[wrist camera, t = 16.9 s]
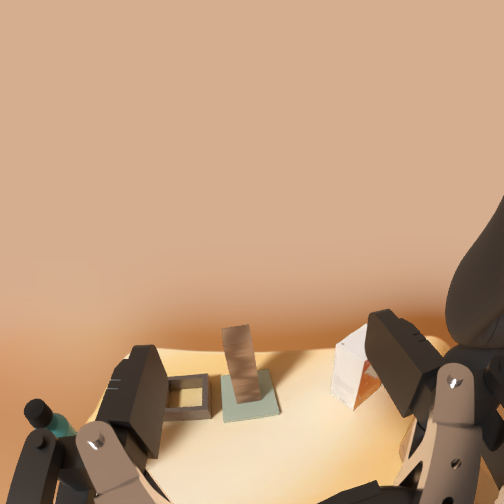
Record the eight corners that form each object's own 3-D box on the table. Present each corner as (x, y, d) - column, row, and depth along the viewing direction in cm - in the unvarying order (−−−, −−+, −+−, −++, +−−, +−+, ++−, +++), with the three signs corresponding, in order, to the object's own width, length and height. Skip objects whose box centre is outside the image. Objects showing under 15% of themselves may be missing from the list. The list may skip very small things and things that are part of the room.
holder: (210, 383, 52) (207, 373, 51) (211, 418, 43) (207, 409, 42) (166, 386, 52) (162, 377, 50) (162, 421, 43) (156, 412, 42)
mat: (268, 370, 54) (268, 368, 54) (279, 414, 43) (279, 412, 43) (221, 377, 54) (220, 375, 53) (224, 422, 42) (223, 420, 42)
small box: (353, 411, 41) (364, 362, 36) (329, 394, 46) (334, 343, 41) (380, 387, 44) (393, 336, 40) (357, 372, 50) (365, 322, 45)
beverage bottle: (81, 485, 26) (8, 415, 19) (94, 459, 32) (31, 385, 25) (111, 498, 25) (34, 433, 18) (123, 469, 31) (59, 397, 24)
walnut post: (257, 383, 50) (248, 324, 45) (261, 400, 46) (252, 340, 41) (234, 387, 50) (221, 328, 45) (237, 404, 46) (223, 345, 40)
